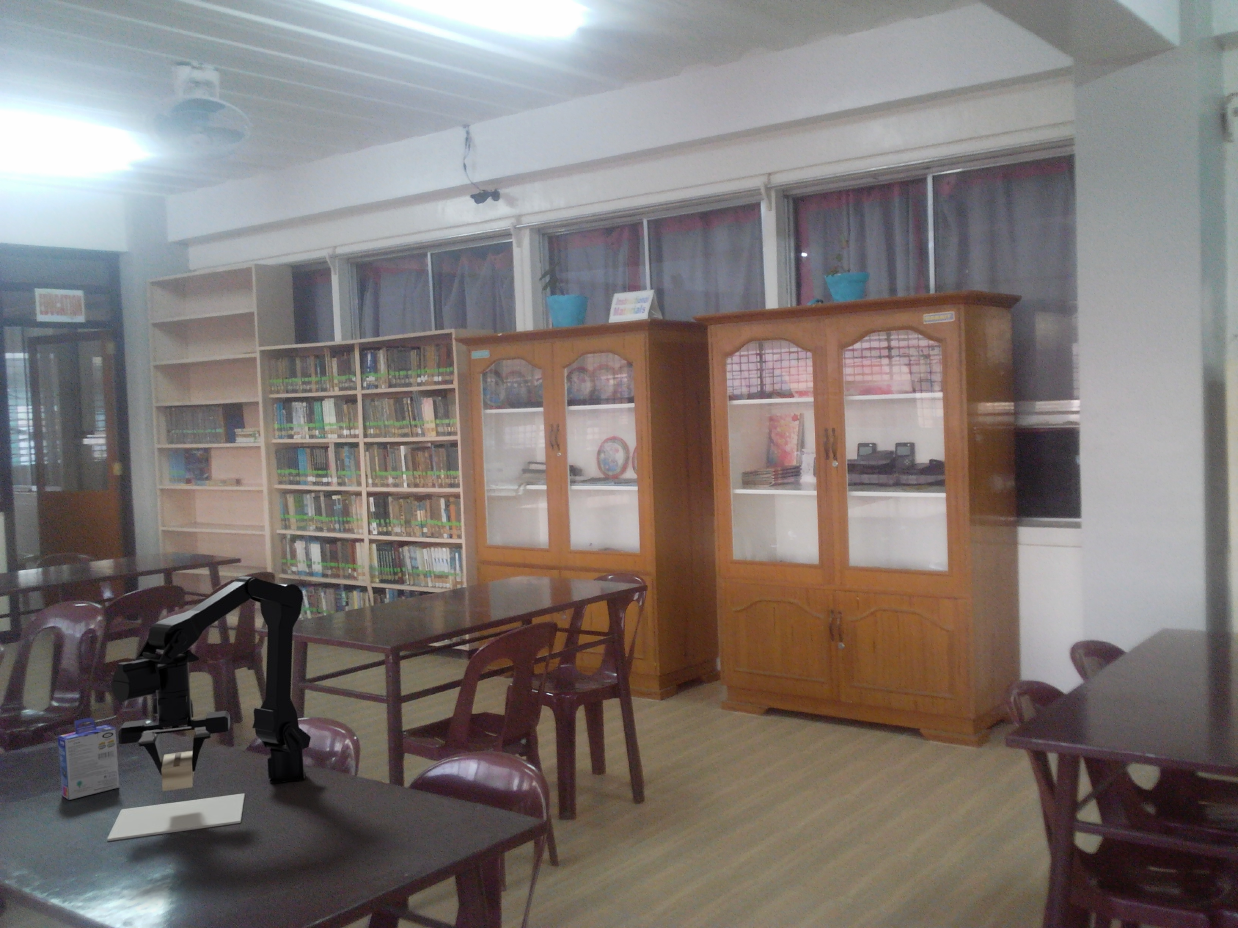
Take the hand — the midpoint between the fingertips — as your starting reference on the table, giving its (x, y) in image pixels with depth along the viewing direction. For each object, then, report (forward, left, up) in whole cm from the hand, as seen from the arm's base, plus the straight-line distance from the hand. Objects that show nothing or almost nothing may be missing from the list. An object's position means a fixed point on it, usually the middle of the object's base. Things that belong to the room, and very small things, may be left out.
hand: (178, 772), depth 200 cm
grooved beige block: (0, 0, -2) cm, 2 cm away
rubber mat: (0, +1, -8) cm, 8 cm away
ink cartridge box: (+19, -23, -8) cm, 31 cm away
